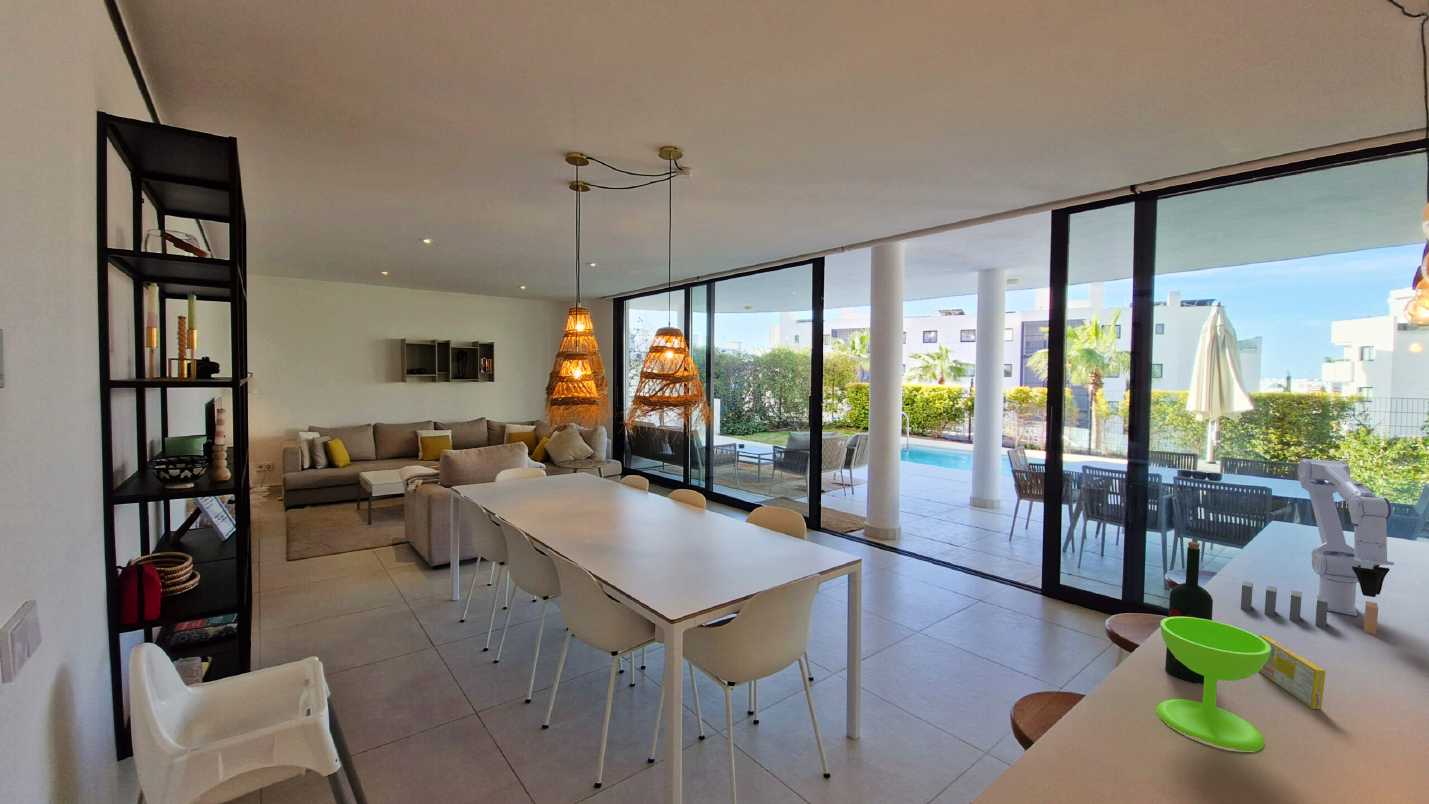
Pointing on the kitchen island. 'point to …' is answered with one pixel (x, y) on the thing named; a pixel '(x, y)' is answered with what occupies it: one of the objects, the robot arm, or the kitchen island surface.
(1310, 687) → the candy box
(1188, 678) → the wine bottle
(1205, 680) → the wineglass
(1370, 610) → the tile head
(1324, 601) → the tile
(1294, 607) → the tile
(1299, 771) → the kitchen island surface
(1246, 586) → the tile
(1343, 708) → the kitchen island surface
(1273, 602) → the tile
